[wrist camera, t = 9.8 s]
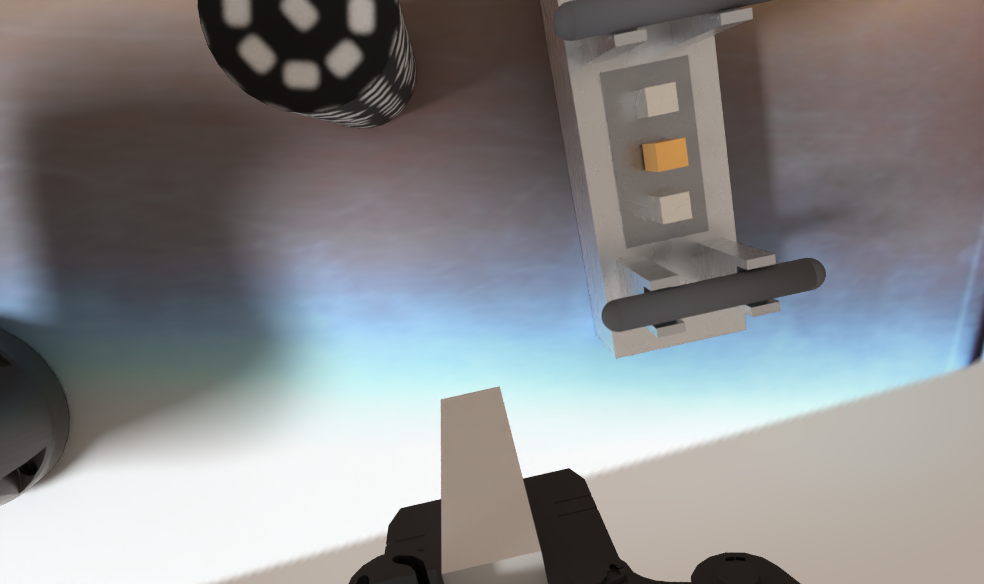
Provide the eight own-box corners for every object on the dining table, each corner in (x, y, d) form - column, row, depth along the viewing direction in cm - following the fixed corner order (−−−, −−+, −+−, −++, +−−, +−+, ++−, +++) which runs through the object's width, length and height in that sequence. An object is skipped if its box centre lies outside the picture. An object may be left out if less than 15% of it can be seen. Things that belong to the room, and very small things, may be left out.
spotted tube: (439, 74, 46) (439, 18, 27) (359, 152, 47) (303, 153, 28) (358, -17, 44) (295, -147, 25) (277, 65, 45) (154, 2, 26)
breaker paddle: (645, 170, 43) (658, 172, 40) (642, 144, 42) (655, 143, 40) (674, 164, 43) (688, 165, 40) (670, 138, 42) (685, 137, 40)
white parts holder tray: (596, 334, 52) (648, 397, 39) (535, -26, 45) (573, -97, 32) (711, 309, 52) (802, 362, 39) (668, -52, 46) (759, -133, 33)
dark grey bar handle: (600, 329, 39) (608, 339, 37) (595, 299, 39) (603, 307, 37) (814, 282, 39) (834, 289, 38) (812, 252, 39) (831, 257, 37)
